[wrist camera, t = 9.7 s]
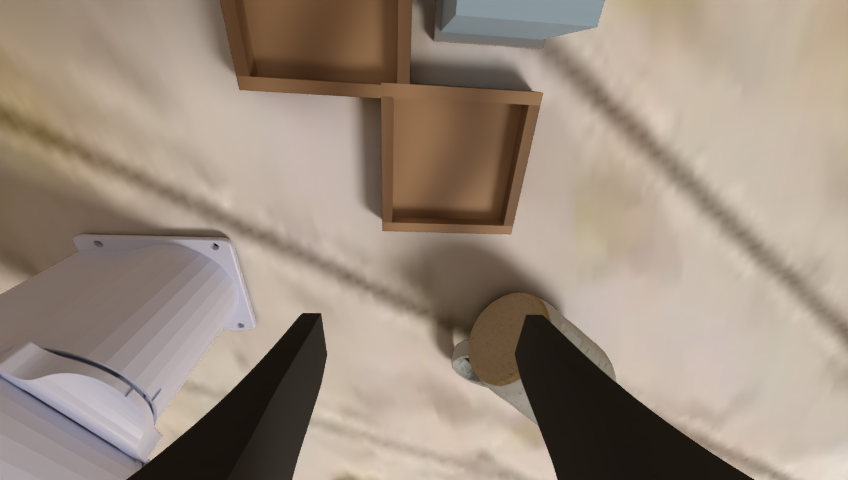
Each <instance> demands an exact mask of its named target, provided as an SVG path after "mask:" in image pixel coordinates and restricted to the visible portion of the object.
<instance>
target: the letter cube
mask: <svg viewBox="0 0 848 480" xmlns="http://www.w3.org/2000/svg"><path fill="white" fill-rule="evenodd" d="M604 1H605V0H443V7H442V21H441V32H451V33H463V34H476V35H488V36H501V37H514V38H526V39H539V40H542V39H546V38H551V37H555V36H560V35H564V34H568V33H573V32H577V31H582V30H586V29H590V28H595V27H597V26H598V22H599V19H600V15H601V12H602V8H603V5H604Z"/></svg>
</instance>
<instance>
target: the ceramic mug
mask: <svg viewBox="0 0 848 480" xmlns="http://www.w3.org/2000/svg"><path fill="white" fill-rule="evenodd" d="M526 315H543V316H545V317H546V318H547V319H548V320H549V321H550V322H551V323H552V324H553V325H554V326H555V327H556V328H557V329H558V330H559V331H560V332H561V333H563V334H564V335H565V336H566V337H567V338H568V339H569V340H570V341H571V342H572V343H573V344H574V345H575V346H576V347H577V348H578V349H579V350H580V351H581V352H583V353H584V354H585V355H586V356H587V357H588V358H589V359H590V360H591V361H592V362H593V363H594V364H596V365H597V366H598V367H599V368H600V369H601V370H602V371H603V372H605V373H606V374H607V375H608V376H609V377H610V378H612V379H613V380H614V381H615V382H616V376H615V372H614V369H613V366H612V363H611V362H610V360H609V358H608V357H607V355H606V354H605V352H604V351H603V350H602V349H601V348H600V347H599V346H598V345H597V344H596V343H594V342H593V341H592V340H591V339H590V338H589V337H587V336H586V335H585V334H584V333H583V332H582V331H581V330H579V329H578V328H577V327H576V326H575V325H574V324H572V323H571V322H570V321H568V320H567V319H566V318H565V317H564V316H563V315H562V314H561V313H560V312H559V311H557V310H556V309H555V308H554V307H553V306H551V305H550V304H549V303H547V302H545V301H543V300H541V299H540V298H538V297H536V296H534V295H531V294H527V293H522V292H521V293H512V294H508V295H504V296H502V297H500V298H499V299H497V300H495V301H493V302H492V303H491V304H490V305H489V306H487V307H486V308H485V309H484V310H483V311H482V313H481V314H480V315H479V317H478V318H477V320H476V321H475V323H474V326H473V328H472V330H471V333H470V338H469V339H467V340H464V341H462V342H460V343H459V344H457V345H456V346H455V348H454V351H453V356H452V368H453V369H454V370H455V372H456V373H458V374H459V375H460V376H461V377H463V378H464V379H466V380H468V381H470V382H472V383H475V384H477V385H480V386H483V387H487V388H489V389H490V390H491V391H493V392H494V393H495V394H496V395H498V396H499V397H501V398H502V399H504V400H505V401H507V402H508V403H510V404H511V405H512V406H514V407H515V408H516V409H517V410H518V411H519V412H521V413H522V414H524V415H525V416H526V417H527V418H529V419H530V420H531V421H533V422H534V423H535V424H537V425H538V423H537V421H536V418H535V416H534V413H533V410H532V408H531V405H530V403H529V400H528V398H527V395H526V392H525V390H524V387H523V384H522V382H521V378H520V374H519V371H518V367H517V363H516V358H515V354H514V353H515V350H516V347H517V343H518V340H519V337H520V333H521V330H522V327H523V323H524V320H525V317H526ZM467 357H469V361H470V363H469V362H468V361H467V360H466V359H465V358H467Z"/></svg>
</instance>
